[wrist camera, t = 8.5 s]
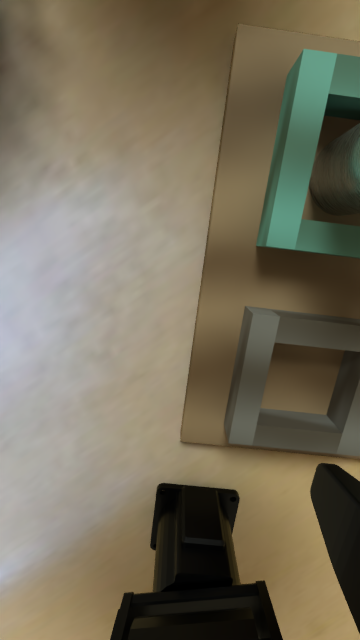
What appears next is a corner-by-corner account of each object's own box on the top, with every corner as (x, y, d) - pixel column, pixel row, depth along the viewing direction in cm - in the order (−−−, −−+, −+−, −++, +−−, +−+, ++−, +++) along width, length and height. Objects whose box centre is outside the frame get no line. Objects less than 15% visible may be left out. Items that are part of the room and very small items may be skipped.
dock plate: (364, 450, 21) (393, 483, 18) (180, 432, 21) (180, 462, 18) (492, 75, 15) (567, 35, 12) (234, 38, 15) (248, -14, 12)
